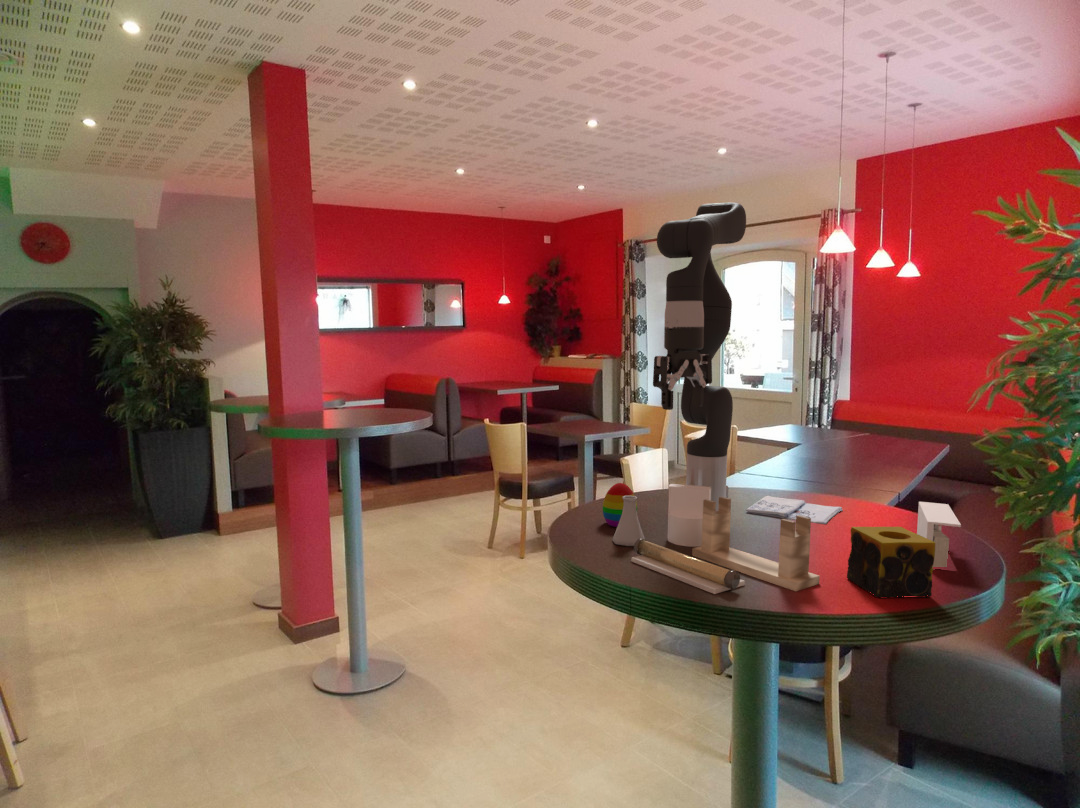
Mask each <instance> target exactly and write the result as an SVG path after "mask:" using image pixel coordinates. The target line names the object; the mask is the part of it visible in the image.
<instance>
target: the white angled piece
mask: <svg viewBox="0 0 1080 808" xmlns="http://www.w3.org/2000/svg"><path fill="white" fill-rule="evenodd" d="M917 510H918V511H917V527H916V534H918V535H920V536H922V537H924V538H927V539H929V540H931V541H933V542H935V557H934V563H933V567H947V559H948V551H949V546H950V537H948V536H947V535H945V533H944V532H943V531H942V526H946V527H947V526H948V527H957V528H961V527H962V524H961V522H960V521H959V519H958V518H957V516H956V515H955V513H954V511H953V510H952V508H951V506H950V505H949V503H947V504H946V503H939V502H938V503H937V502H928V501H918V509H917Z"/></svg>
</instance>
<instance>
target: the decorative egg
mask: <svg viewBox="0 0 1080 808" xmlns="http://www.w3.org/2000/svg"><path fill="white" fill-rule="evenodd" d="M623 496H636V495H635V494H634V491H633V490H632V488H630V487H629V486H628V485H627V484H626V483H623V482H617V483H615V484H613V485H612V486H611V487H609V488H608V490H607V492H606V494H605V496H604V499H603V502H602V515H603V518H604V520H605V522H606V523H607V525H609V526H610V527H613V528H617V527H618V524H619V521H620V518H621V516H622V512H623V507H624V500H623V498H622V497H623ZM637 502H638V501H637V500H636V511H637V512H638V503H637Z"/></svg>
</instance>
